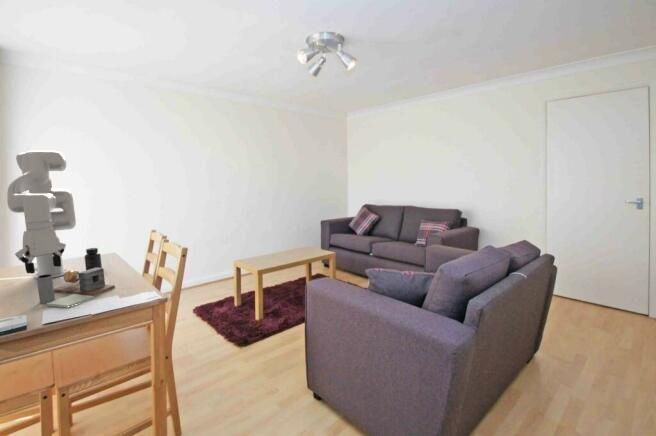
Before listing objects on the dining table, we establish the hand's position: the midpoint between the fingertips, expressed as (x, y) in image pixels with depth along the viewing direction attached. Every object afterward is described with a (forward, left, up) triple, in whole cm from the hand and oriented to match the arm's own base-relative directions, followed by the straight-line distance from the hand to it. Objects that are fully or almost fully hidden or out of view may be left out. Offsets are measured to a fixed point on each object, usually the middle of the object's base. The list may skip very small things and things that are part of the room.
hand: (44, 269), depth 128 cm
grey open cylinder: (0, 0, -13) cm, 13 cm away
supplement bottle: (-19, +36, -13) cm, 43 cm away
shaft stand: (+2, +13, -13) cm, 19 cm away
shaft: (0, +13, -10) cm, 17 cm away
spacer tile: (+10, +1, -13) cm, 16 cm away
